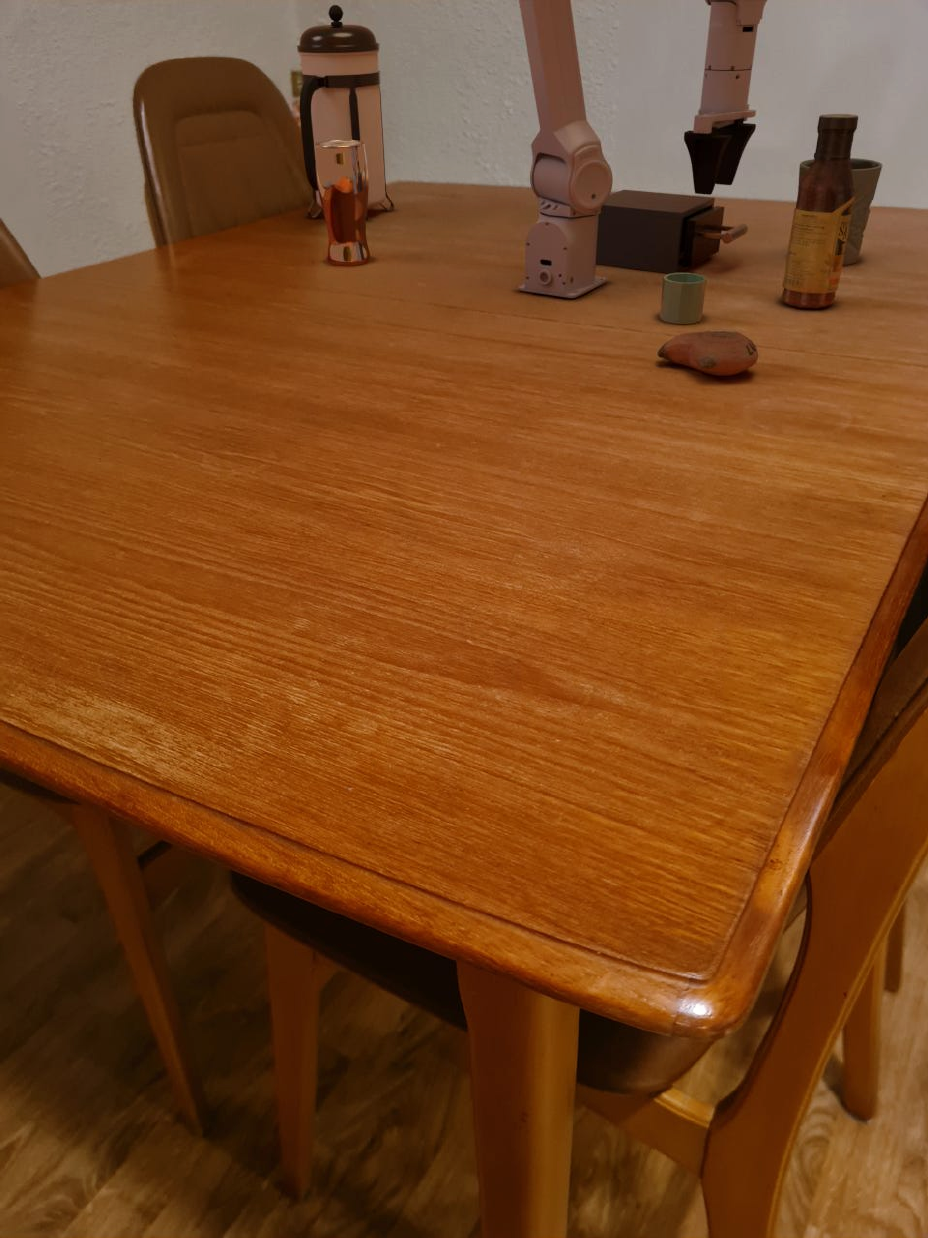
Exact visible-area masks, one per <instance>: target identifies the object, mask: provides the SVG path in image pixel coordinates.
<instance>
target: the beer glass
mask: <svg viewBox="0 0 928 1238" xmlns="http://www.w3.org/2000/svg"><path fill="white" fill-rule="evenodd" d="M315 147H316V176H317V185H318V192H319V196H320V201H321V205H322V207H321V208H322V209H323V211H322V213H323V216H324V220H325V224H326V225H325V226H326V228H327V236H328V248H327V263H329V264H330V265H333V266H334V265H335V266H344V267H345V266H347V267H348V266H358V265H363V264H367V263H369V262H370V261H371V259H372V258H371V252H370V249H369V243H368V239H367V221H366V217H367V215H368V209H367V206H368V192H369V181H368V167H367V159H366V152H365V143H364V142H363V141H359V140H330V141H322V142H318V143H316V144H315Z"/></svg>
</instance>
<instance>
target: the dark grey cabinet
mask: <svg viewBox="0 0 928 1238" xmlns="http://www.w3.org/2000/svg"><path fill="white" fill-rule="evenodd" d="M715 199H716V198H715V197H712V196H710V197H709V196H699V195H690V194H689V195H688V194H677V193H667V192H654V191H646V190H645V191H643V190H635V189H634V190H632V189H622V190H619V191H616V192H614V193H610V195H609V197H608V199H607V201H606V202H605V204H604V205H603V206H602V207H601V213H600V214H598V231H597V249H596V265H603V266H610V267H618V268H624V269H625V268H626V269H632V270H639V271H640V270H641V271H648V272H654V273H661V274H672V273H681V272H682V271H684V270H686V269H688V267H682V262H683V258H681V259H679V257H680V248H681V238H682V229H683V218H685V217H687V216H689V215H691V214H694V213H696V212H698V211H700V210H702V209H704V208H705V211H707V210H709V209H711V208H713V207H715V202H716V200H715ZM705 211H704V212H705Z"/></svg>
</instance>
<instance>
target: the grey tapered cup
mask: <svg viewBox="0 0 928 1238" xmlns="http://www.w3.org/2000/svg"><path fill="white" fill-rule="evenodd" d="M813 162H814V158H813V159H807V160H804V161H801V162H800V164H799V171H798V187H797V189H798V188H799V184H800V182H801V180H802V178H803V176H804V175H805V173H806V172H807V171H808V169H809V168H810V167H811V165H812V164H813ZM850 162H851V169H852V177H853V184H854V191H855V198H854V204H853V209H852V214H851V221H850V226H849V232H848V237H847V242H846V248H845V252H844V258H843V263H842V266H849V265H853V264H856V262H858V260H859V258H860V254H861V250H862V246H863V238H864V235H865V234H864V232H865V231H866V228H867V225H868V222H869V218H870V214H871V208H870V206H871V205H872V202H873V200H874V198H875V194H876V191H877V188H878V183H879V180H880V175H881V172H882V169H883V164H882V163H881V162H879V161H876V160H873V159H866V158H858V157H850Z"/></svg>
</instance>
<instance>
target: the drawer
mask: <svg viewBox="0 0 928 1238" xmlns="http://www.w3.org/2000/svg"><path fill="white" fill-rule="evenodd" d="M704 211H705V208H704V209H702V210H700V211H698V212H696V213H694V214H691V215H689V216H687V217H685V218H683V229H682V238H681V248H680V257H679V259H681V258H683V262H682V267H688V268H689V269H690V268H693V267H695V266H696V265H698V264H699V263H701V262H703V261H705V260H707V259H708V258H711V257H712V256H714V255H715V254H718V253H719V252H720V247H721V241H722V242H723V244H725V245H726V244H727V245H728V244H730V243H732V242H734V241H735V240H737V239H739V238H741V237H743V236H745V235H746V234H747V233H748V230H749V228H748V225H746V224H745V223H740V224H739V225H737V226H735V225H724V224H723V223H724V215H725V206H720V205H716V206H714V207H713V208H711V209H709V210H707V211H705V212H704ZM722 232H724V233H722ZM688 268H687V269H688Z"/></svg>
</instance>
